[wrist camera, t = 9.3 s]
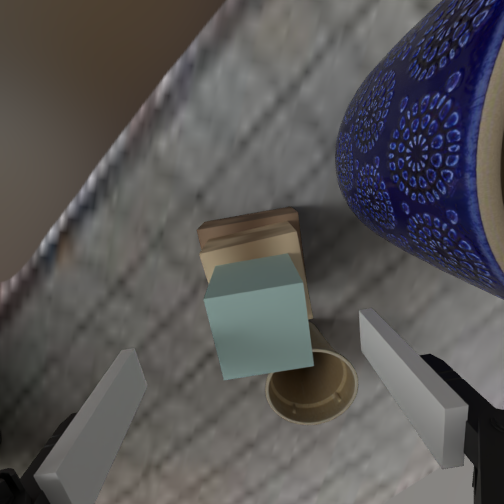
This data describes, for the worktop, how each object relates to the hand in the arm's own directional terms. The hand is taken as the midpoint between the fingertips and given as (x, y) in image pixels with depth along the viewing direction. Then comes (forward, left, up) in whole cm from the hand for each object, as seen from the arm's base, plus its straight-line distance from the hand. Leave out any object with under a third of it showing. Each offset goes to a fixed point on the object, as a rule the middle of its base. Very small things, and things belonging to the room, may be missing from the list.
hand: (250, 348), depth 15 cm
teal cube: (+1, 0, -7) cm, 7 cm away
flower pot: (+4, -12, -17) cm, 21 cm away
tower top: (+1, +1, -12) cm, 12 cm away
